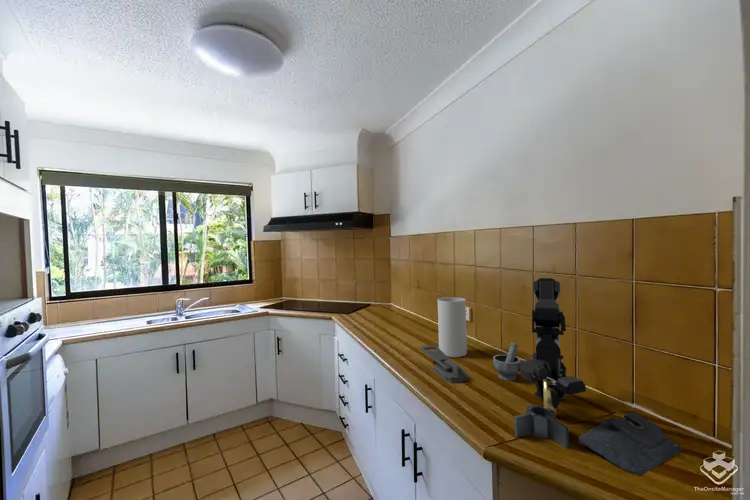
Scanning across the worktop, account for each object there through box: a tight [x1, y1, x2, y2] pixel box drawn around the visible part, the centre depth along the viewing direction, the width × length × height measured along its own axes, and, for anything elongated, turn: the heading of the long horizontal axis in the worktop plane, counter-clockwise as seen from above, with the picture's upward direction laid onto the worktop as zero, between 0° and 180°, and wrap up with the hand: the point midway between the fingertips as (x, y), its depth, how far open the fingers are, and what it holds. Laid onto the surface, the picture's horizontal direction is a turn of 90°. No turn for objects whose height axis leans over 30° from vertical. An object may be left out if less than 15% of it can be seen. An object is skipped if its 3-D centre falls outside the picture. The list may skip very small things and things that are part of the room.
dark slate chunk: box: [578, 411, 683, 477], centre depth 78 cm, size 15×22×5 cm
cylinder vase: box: [437, 296, 468, 358], centre depth 148 cm, size 12×12×25 cm
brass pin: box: [543, 379, 557, 416], centre depth 92 cm, size 3×3×10 cm
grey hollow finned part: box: [513, 404, 570, 449], centre depth 82 cm, size 11×11×5 cm
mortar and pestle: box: [492, 342, 521, 382], centre depth 120 cm, size 11×9×12 cm
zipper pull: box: [420, 344, 468, 384], centre depth 128 cm, size 9×7×25 cm
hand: (549, 405), depth 92 cm, fingers open, 4 cm apart
